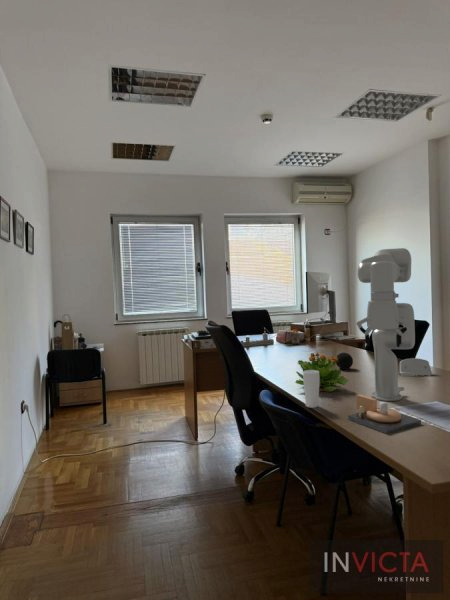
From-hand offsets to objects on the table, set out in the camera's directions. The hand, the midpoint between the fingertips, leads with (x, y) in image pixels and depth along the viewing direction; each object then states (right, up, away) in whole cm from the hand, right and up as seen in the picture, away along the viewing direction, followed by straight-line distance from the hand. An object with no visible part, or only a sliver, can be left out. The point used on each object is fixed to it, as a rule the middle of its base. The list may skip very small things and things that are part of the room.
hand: (383, 346), depth 140 cm
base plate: (+4, -29, +10) cm, 31 cm away
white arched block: (+50, -26, +83) cm, 100 cm away
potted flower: (-10, -28, +59) cm, 66 cm away
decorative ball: (+17, -26, +101) cm, 106 cm away
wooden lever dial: (+3, -28, +13) cm, 31 cm away
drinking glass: (-18, -30, +31) cm, 47 cm away
